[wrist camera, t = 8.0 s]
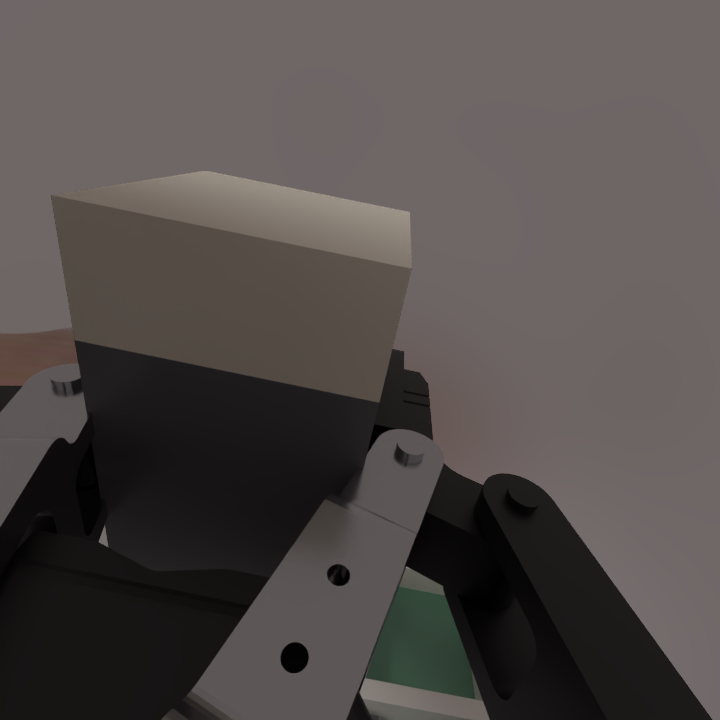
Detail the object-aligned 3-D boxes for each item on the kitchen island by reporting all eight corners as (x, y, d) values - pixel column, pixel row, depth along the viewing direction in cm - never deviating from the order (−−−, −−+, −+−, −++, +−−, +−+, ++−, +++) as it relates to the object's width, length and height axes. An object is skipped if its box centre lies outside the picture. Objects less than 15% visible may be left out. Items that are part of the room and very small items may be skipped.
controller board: (261, 848, 16) (268, 813, 14) (321, 541, 29) (329, 502, 27) (514, 896, 16) (552, 868, 15) (466, 569, 29) (483, 532, 27)
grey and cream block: (127, 664, 10) (51, 194, 5) (205, 518, 14) (206, 170, 9) (307, 702, 10) (411, 268, 5) (334, 545, 14) (410, 212, 9)
